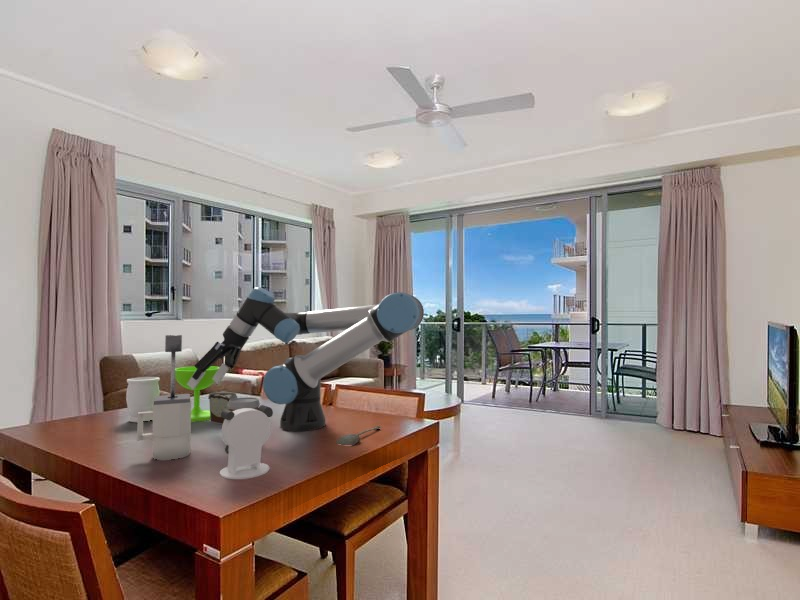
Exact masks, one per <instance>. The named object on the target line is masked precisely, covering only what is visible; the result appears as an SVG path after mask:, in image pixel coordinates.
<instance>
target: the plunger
mask: <svg viewBox="0 0 800 600" xmlns="http://www.w3.org/2000/svg"><path fill="white" fill-rule="evenodd" d="M164 338H165V342H164V343H165V345H164V352H166V353H171V354H170V355H171V356H170V363H171V364H170V395H171V398H175V395H176V394H175V393H176V389H175V388H176V378H175V369H176V353H178V352H182V351H183V350H182V349H183V348H182V347H183V346H182V345H183V344H182V343H183V341H182V340H183V335H182V334H166V335H165V337H164Z"/></svg>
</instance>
